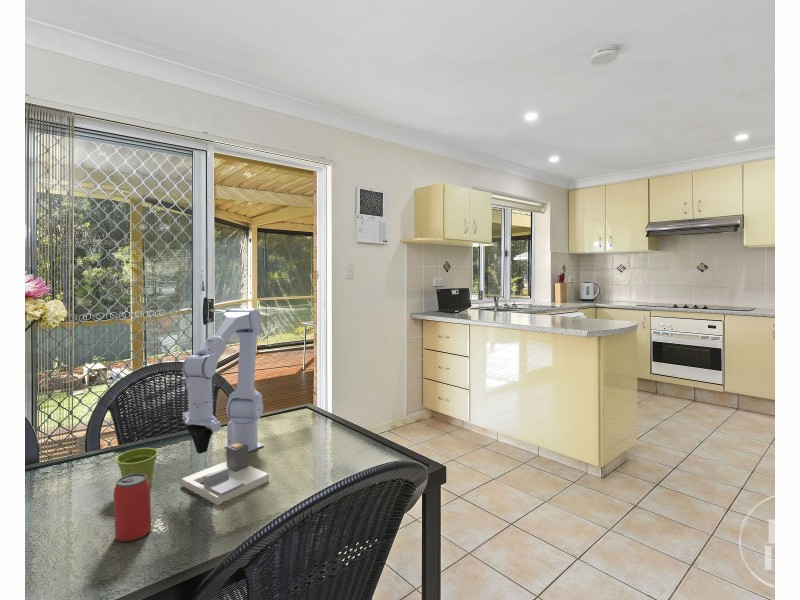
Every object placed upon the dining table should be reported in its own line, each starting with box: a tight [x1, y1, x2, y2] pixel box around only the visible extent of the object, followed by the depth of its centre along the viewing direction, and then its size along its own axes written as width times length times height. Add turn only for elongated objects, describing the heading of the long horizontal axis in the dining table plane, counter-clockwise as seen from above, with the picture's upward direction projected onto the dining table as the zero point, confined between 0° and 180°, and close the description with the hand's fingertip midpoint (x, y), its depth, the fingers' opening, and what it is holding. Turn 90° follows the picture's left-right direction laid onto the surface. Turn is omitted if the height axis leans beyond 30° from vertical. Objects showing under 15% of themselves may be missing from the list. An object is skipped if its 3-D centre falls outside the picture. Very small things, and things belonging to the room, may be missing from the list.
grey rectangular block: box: [225, 442, 250, 472], centre depth 122 cm, size 4×4×6 cm
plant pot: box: [115, 447, 159, 488], centre depth 114 cm, size 9×9×9 cm
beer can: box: [113, 473, 152, 543], centre depth 95 cm, size 7×7×12 cm
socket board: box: [181, 460, 270, 506], centre depth 117 cm, size 16×15×2 cm
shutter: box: [204, 467, 244, 496], centre depth 111 cm, size 7×6×3 cm
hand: (202, 451), depth 117 cm, fingers closed
